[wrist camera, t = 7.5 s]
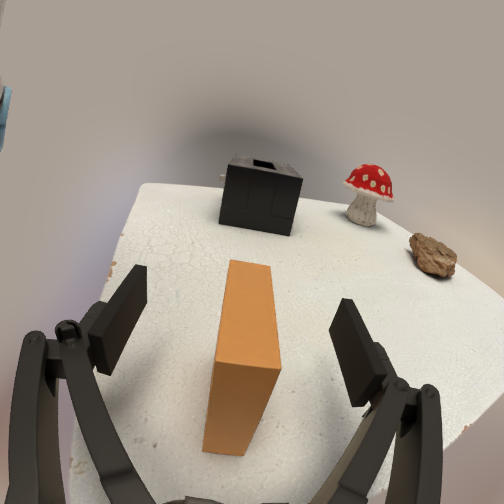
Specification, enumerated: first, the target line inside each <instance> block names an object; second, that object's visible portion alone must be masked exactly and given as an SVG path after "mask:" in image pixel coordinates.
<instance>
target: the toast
mask: <svg viewBox="0 0 504 504" xmlns="http://www.w3.org/2000/svg"><path fill="white" fill-rule="evenodd" d="M280 371H281V359H280V350H279V340H278V331H277V322H276V313H275V304H274V295H273V286H272V278H271V269H270V266H266V265H260V264H254V263H248V262H242V261H236V260H230V263H229V269H228V275H227V281H226V287H225V293H224V299H223V306H222V312H221V318H220V325H219V331H218V338H217V344H216V351H215V358H214V365H213V372H212V379H211V386H210V393H209V401H208V408H207V416H206V424H205V431H204V439H203V448H202V451H204V452H211V453H218V454H227V455H237V456H244V454H245V452H246V450H247V447H248V445H249V443H250V441H251V439H252V437H253V435H254V432H255V430H256V428H257V426H258V424H259V421H260V419H261V417H262V414H263V412H264V410H265V408H266V405H267V403H268V401H269V398H270V396H271V393H272V391H273V389H274V386H275V384H276V381H277V379H278V376H279V374H280Z"/></svg>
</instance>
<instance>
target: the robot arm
mask: <svg viewBox="0 0 504 504" xmlns="http://www.w3.org/2000/svg"><path fill="white" fill-rule="evenodd" d="M5 1H6V0H0V25H1V19H2V14H3V10H4V6H5ZM11 92H12V91H11V88H10V87H6V86H5V87H3V82H2V79H1V77H0V151H1V150H2V147H3V141H4V134H5V127H6V120H7V114H8V109H9V103H10V98H11ZM146 304H147V266H142V265H137V264H135V266H134V267H133V268H132V270H131V271H130V272H129V274H128V275H127V276H126V278H125V279H124V280H123V282H122V283H121V285H120V286H119V287H118V289H117V290H116V291H115V293H114V294H113V296H112V297H111V299H110V300H109V301H108V303H106V302H102V301H98V302H97V303H95V304H93V305H92V306H91V308H90V309H89V310H88V312H87V313H86V314H85V316H84V317H83V318H82V320H81V321H80V323H77V322H76V321H74V320H64V321H61V322H60V323H58V324H57V326H56V327H55V334H56V336H57V340H53V339H46V336H45V335H44V333H42V332H41V331H31V332H29V333H28V334H27V335H25V337H24V340H23V344H22V348H21V352H20V357H19V361H18V367H17V371H16V377H15V383H14V389H13V396H12V404H11V413H10V426H9V451H8V454H9V455H8V460H9V461H8V462H9V487H8V492H7V495H6V499H5V504H66V502H65V494H64V488H63V481H62V473H61V464H60V455H59V437H58V388H59V378H61V379H66V380H67V385H68V389H69V392H70V396H71V400H72V403H73V407H74V410H75V413H76V417H77V420H78V423H79V426H80V429H81V432H82V434H83V437H84V440H85V442H86V445H87V448H88V450H89V453H90V455H91V458H92V460H93V462H94V465H95V467H96V469H97V471H98V474H99V476H100V481H101V484H102V486H103V489H104V491H105V493H106V495H107V497H108V498H109V500H110V502H111V504H156V503H155V501H154V499H153V498H152V496H151V495H150V493H149V492H148V490H147V488H146V487H145V485H144V483H143V482H142V480H141V478H140V477H139V475H138V473H137V471H136V470H135V468H134V466H133V464H132V462H131V460H130V459H129V457H128V455H127V453H126V451H125V449H124V447H123V445H122V443H121V441H120V438H119V436H118V434H117V432H116V430H115V428H114V425H113V423H112V421H111V418H110V416H109V414H108V411H107V409H106V406H105V404H104V401H103V399H102V396H101V393H100V391H99V388H98V385H97V382H96V379H95V376H94V373H93V369H94V367H95V365H96V368H97V372H99V373H102V374H105V375H109V376H111V375H112V372H113V370H114V368H115V366H116V364H117V362H118V360H119V357H120V355H121V353H122V351H123V349H124V347H125V345H126V343H127V341H128V339H129V337H130V335H131V333H132V331H133V329H134V327H135V325H136V323H137V321H138V319H139V317H140V315H141V313H142V311H143V309H144V307H145V306H146ZM329 333H330V336H331V339H332V342H333V346H334V349H335V352H336V355H337V358H338V362H339V365H340V368H341V371H342V375H343V378H344V381H345V385H346V388H347V392H348V395H349V399H350V402H351V406H352V407H364V406H365V405H366V403H367V402H368V401H370V404H371V406H370V407H369V409H368V410H367V411H366V412H365V413H364V415H363V416H362V417H364V418H363V420H362V422H361V424H360V426H359V427H358V429H357V431H356V433H355V435H354V436H353V438H352V440H351V442H350V443H349V445H348V447H347V448H346V450H345V452H344V453H343V455H342V457H341V458H340V460H339V461H338V463H337V465H336V466H335V468H334V469H333V471H332V472H331V474H330V475H329V477H328V478H327V480H326V481H325V483H324V484H323V485H322V487H321V488H320V490H319V491H318V492H317V494H316V495H315V496H314V498H313V499H312V500H311V501H310V502H309V503H308V504H367V502H368V499H367V498H366V496H367V493H368V492H369V490H370V488H371V486H372V484H373V482H374V480H375V478H376V476H377V474H378V472H379V470H380V468H381V465H382V463H383V461H384V459H385V457H386V454H387V452H388V450H389V447H390V445H391V443H392V440H393V438H394V435H395V433H396V439H395V448H394V456H393V463H392V469H391V476H390V481H389V487H388V492H387V497H386V501H385V504H440V497H441V486H442V465H443V464H442V463H443V440H442V417H441V404H440V395H439V391H438V390H437V388H435V387H434V386H433V385H430V384H425V385H423V386H422V387H421V389H416V388H411V387H410V386H409V384H408V383H407V382H406V381H405V380H404V379H402V378H400V377H398V376H397V374H396V372H395V370H394V368H393V366H392V364H391V362H390V361H389V357H388V356H387V353H386V351H385V349H384V348H383V347H382V345H381V344H380V343H379V342H373V340H372V338H371V336H370V334H369V332H368V330H367V328H366V326H365V324H364V322H363V320H362V318H361V316H360V313H359V311H358V309H357V307H356V306H355V304H354V302H353V300H352V299H345V298H342V300H341V302H340V305H339V307H338V310H337V312H336V314H335V317H334V319H333V321H332V324H331V326H330V328H329ZM164 504H223V503H220V502H217V501H214V500H209V499H202V498H195V497H189V496H185V500H175V501H170V502H166V503H164ZM262 504H289V503H262Z"/></svg>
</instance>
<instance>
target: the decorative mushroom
mask: <svg viewBox="0 0 504 504" xmlns="http://www.w3.org/2000/svg"><path fill="white" fill-rule="evenodd" d="M343 186H344V187H346V188H348V189H350V190H352V191H355V192H357V197H356V199H355V200H354V201H353V202H352V203H351V204H350V206H349V207H348V209H347V212H346V213H347V217H348V219H349V220H350V221H352V222H354V223H357V224H360V225H363V226H372V225H373V224H374V223H375V222H376V208H375V204H376V201H377V200H381V201H385V202H393V201H394V197H393V194H392V183H391V180H390V177H389V176H388V174H387V173H386V172H385V171H384V170H383V169H382V168H381V167H379V166H376V165H373V164H364V165H361V166H359V167H357V168H356V169H355V170H353V172H352V173H351V175H350V177H349V178H348V179H347V180H345V181H344V182H343Z"/></svg>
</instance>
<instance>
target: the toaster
mask: <svg viewBox="0 0 504 504" xmlns="http://www.w3.org/2000/svg"><path fill="white" fill-rule="evenodd" d="M219 181H223V182H225V183H224V191H223V198H222V204H221V210H220V217H219V224H223V225H229V226H235V227H241V228H247V229H252V230H258V231H264V232H269V233H275V234H280V235H286V236H290V232H291V228H292V224H293V219H294V216H295V211H296V207H297V203H298V199H299V195H300V191H301V186H302V182H303V178H302V177H301V176H300V175H299V174H298V173H297V172H296V171H295V170H294V169H293V168H292V167H291V166H290V165H289V164H284V163H278V162H274V161H268V160H264V159H258V158H252V157H247V156H241V155H234V157H233V158H232V160H231V161H230V163H229V164H228V168H227V173H226V174H221V175H220V179H219Z"/></svg>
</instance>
